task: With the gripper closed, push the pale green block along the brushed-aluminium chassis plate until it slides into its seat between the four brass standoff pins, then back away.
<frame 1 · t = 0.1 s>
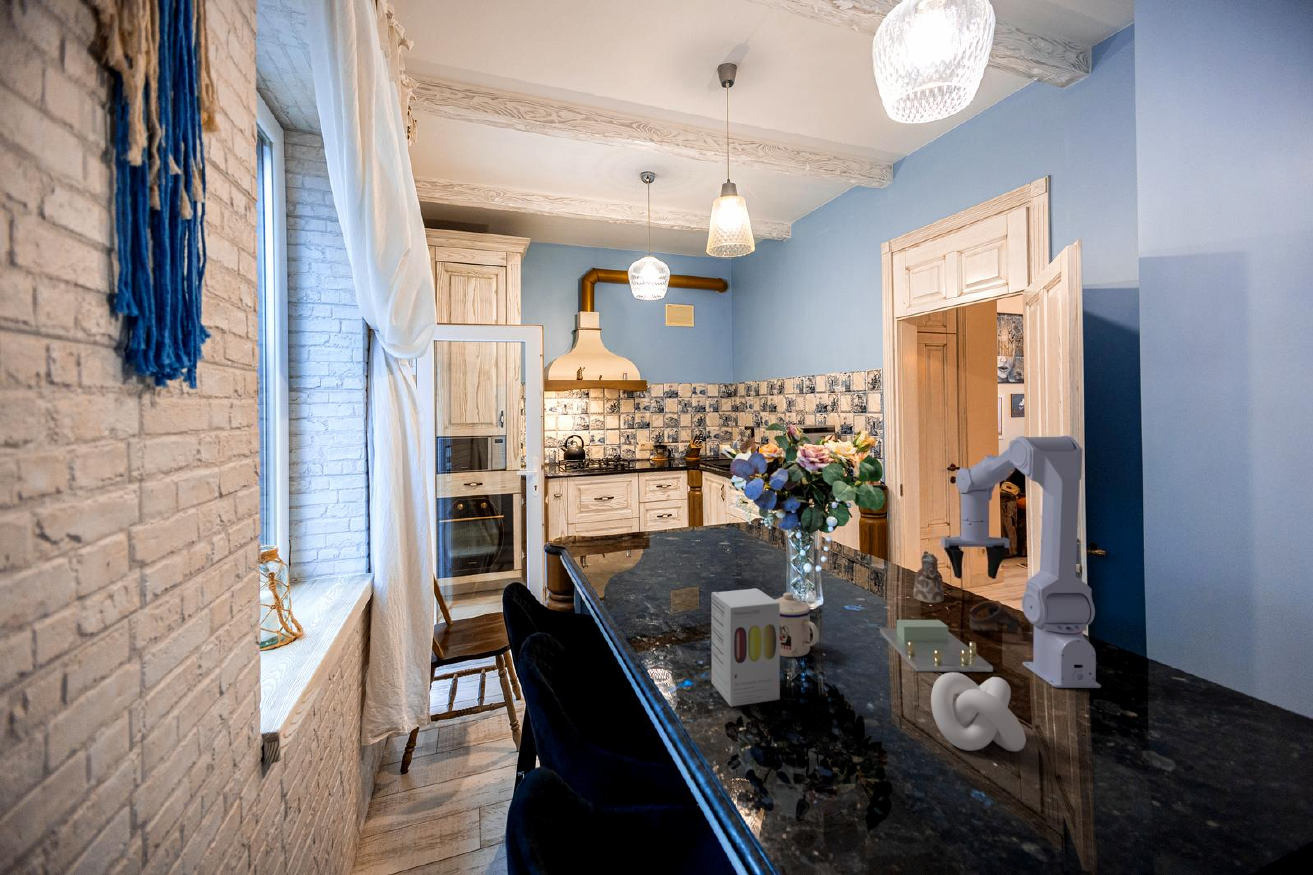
hand: (974, 577, 130), 10 cm above the kitchen island, fingers open, 7 cm apart
chassis: (931, 650, 113), on the kitchen island
supplement box: (744, 692, 98), on the kitchen island
white decorative knot: (979, 740, 82), on the kitchen island
figurine: (928, 599, 146), on the kitchen island
pale green block: (922, 637, 118), point 1 cm above the kitchen island, touching chassis
pottery mug: (996, 634, 122), on the kitchen island
teacup with lid: (793, 652, 114), on the kitchen island
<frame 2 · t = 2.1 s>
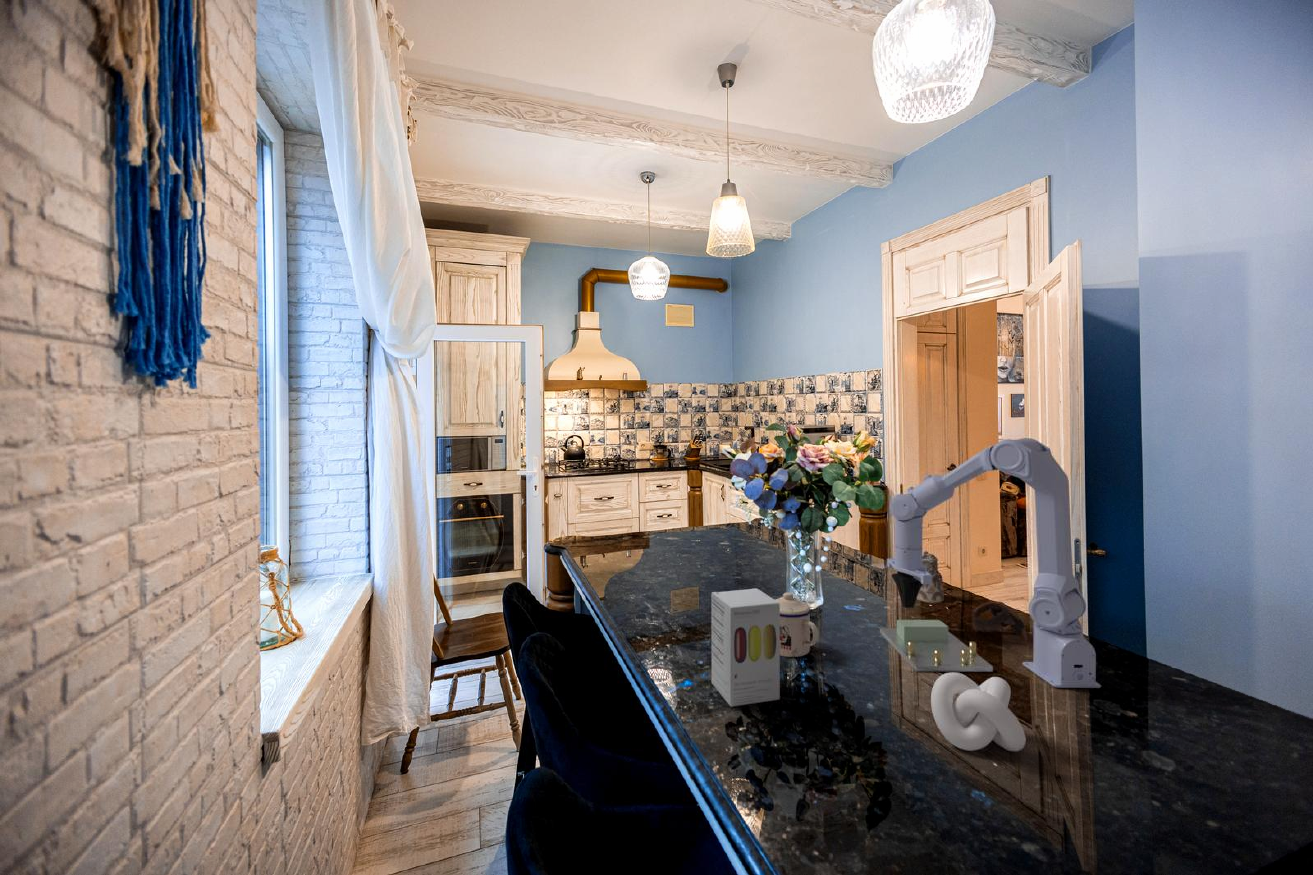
hand: (908, 606, 125), 5 cm above the kitchen island, fingers closed
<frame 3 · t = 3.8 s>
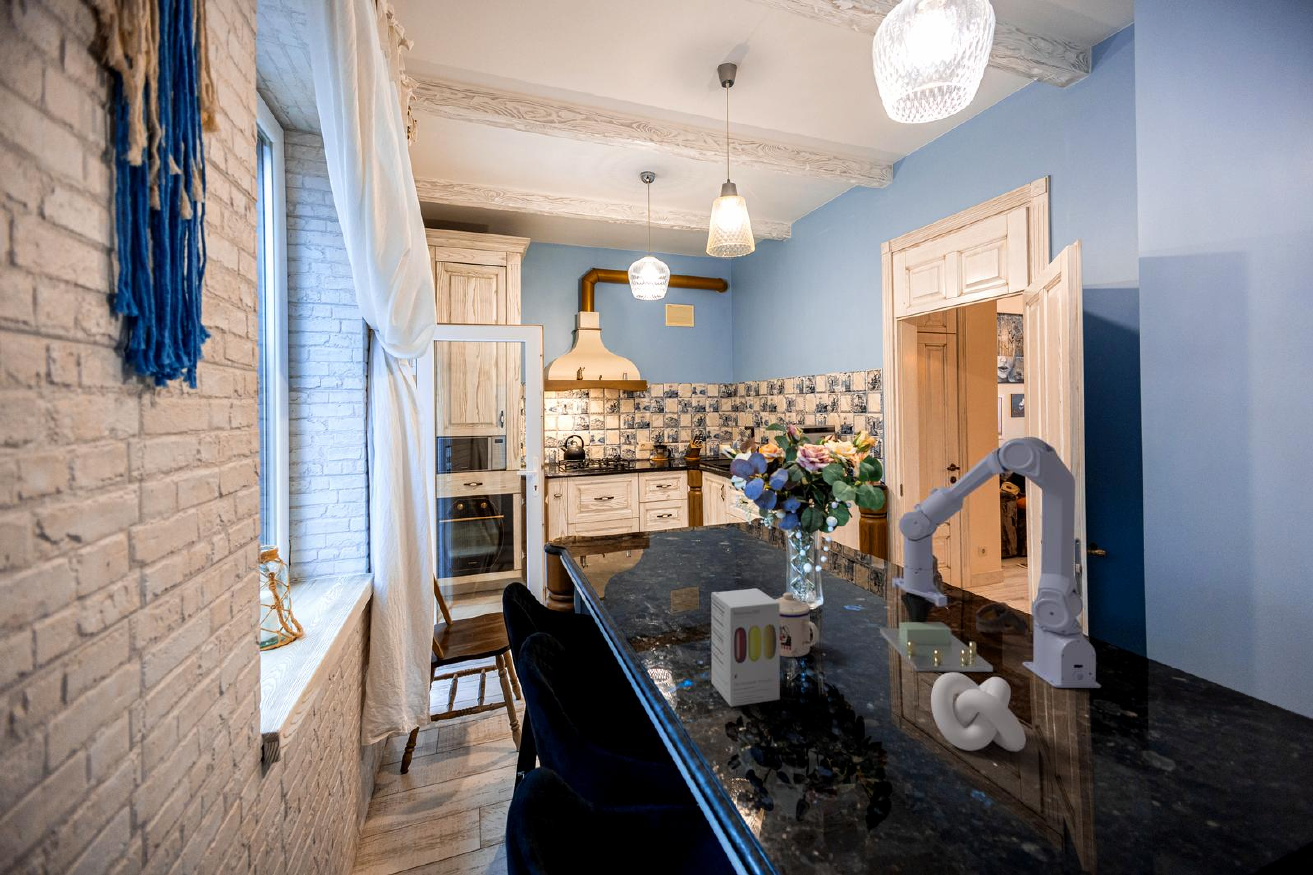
hand: (918, 629, 120), 2 cm above the kitchen island, fingers closed
pale green block: (924, 639, 116), point 1 cm above the kitchen island, touching chassis, gripper
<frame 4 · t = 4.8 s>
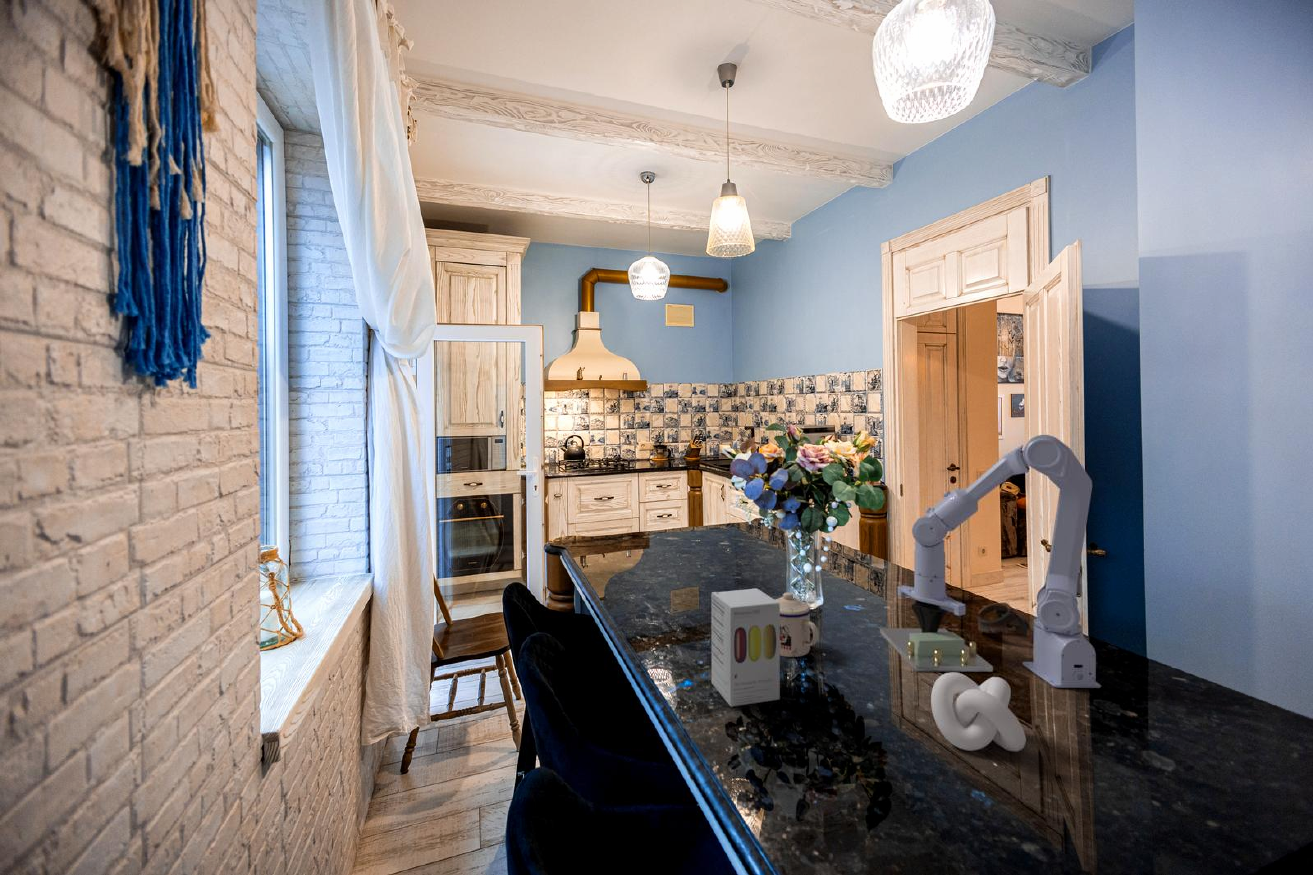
hand: (929, 639, 114), 2 cm above the kitchen island, fingers closed
pale green block: (936, 651, 111), point 1 cm above the kitchen island, touching gripper
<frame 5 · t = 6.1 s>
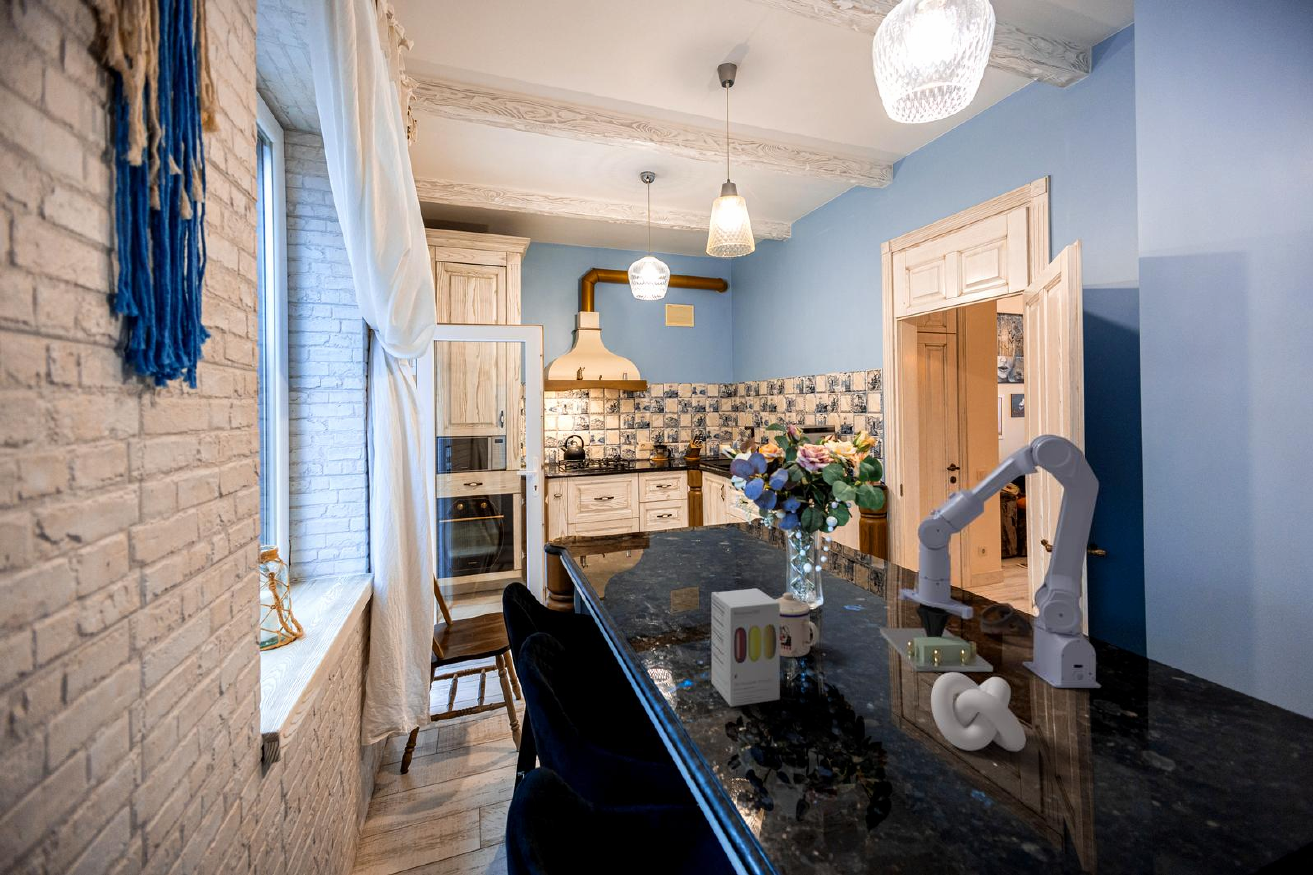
hand: (934, 643, 112), 2 cm above the kitchen island, fingers closed
pale green block: (941, 656, 108), point 1 cm above the kitchen island, touching chassis, gripper
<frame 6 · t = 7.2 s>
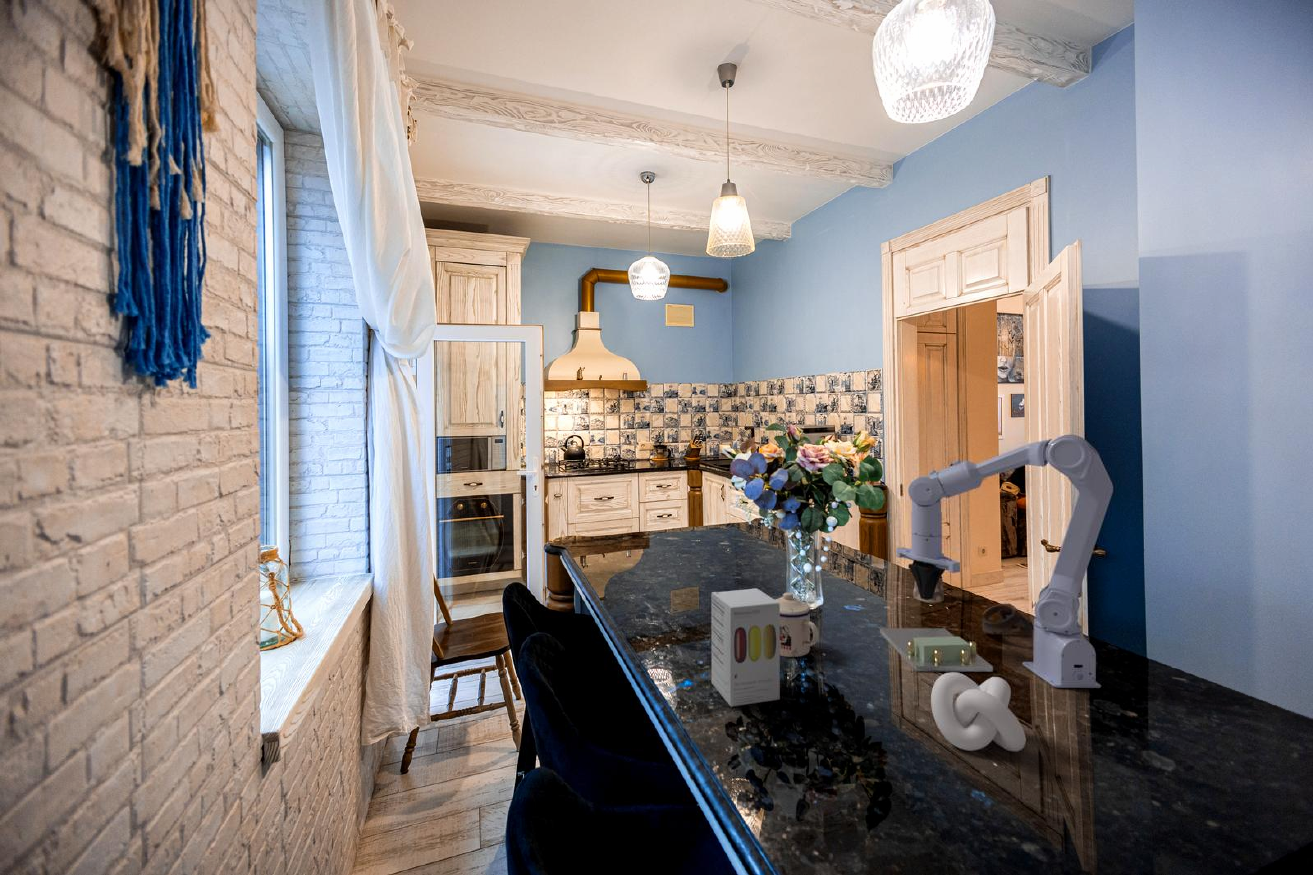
hand: (926, 598, 116), 10 cm above the kitchen island, fingers closed
pale green block: (941, 656, 108), point 1 cm above the kitchen island, touching chassis
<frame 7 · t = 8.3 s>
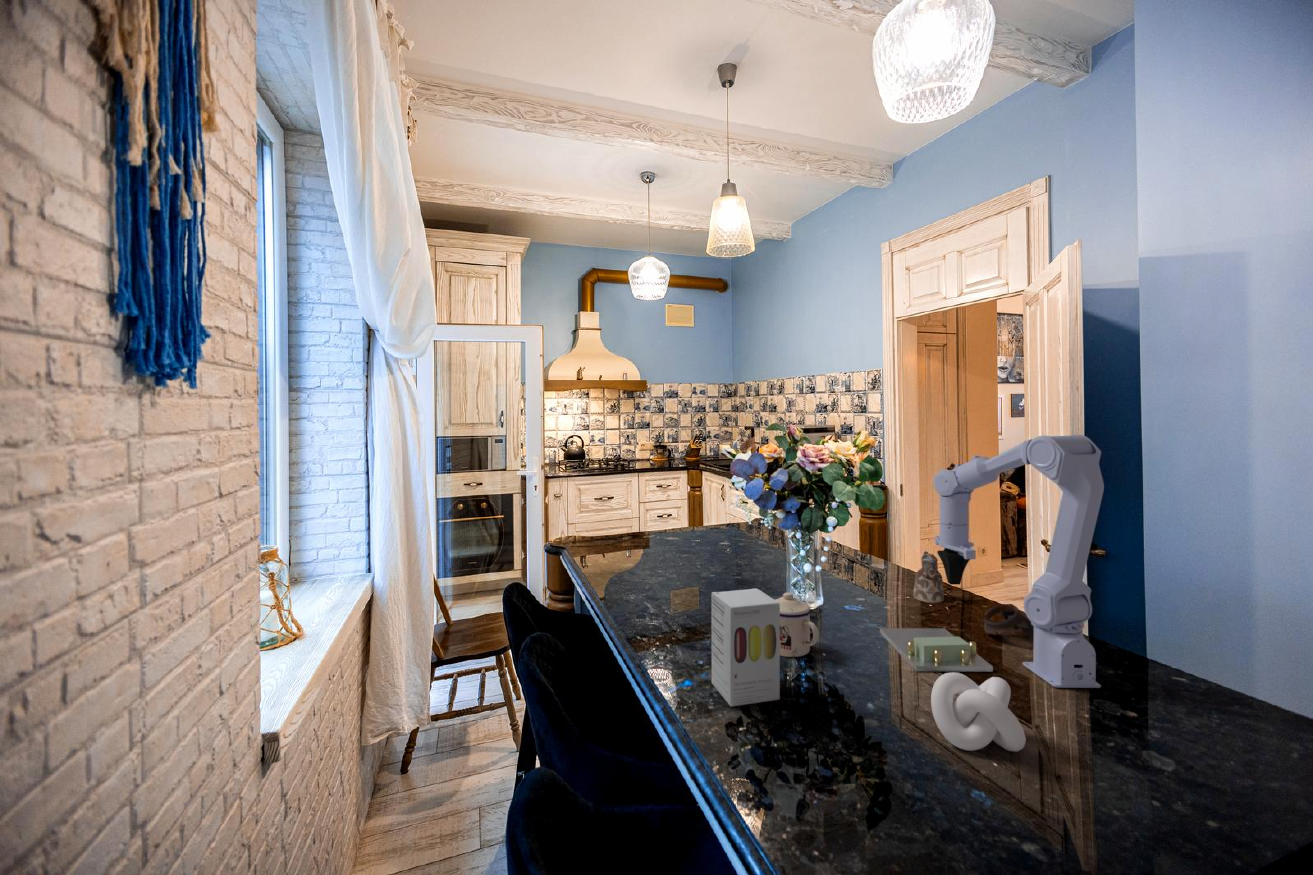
hand: (953, 583, 124), 10 cm above the kitchen island, fingers closed
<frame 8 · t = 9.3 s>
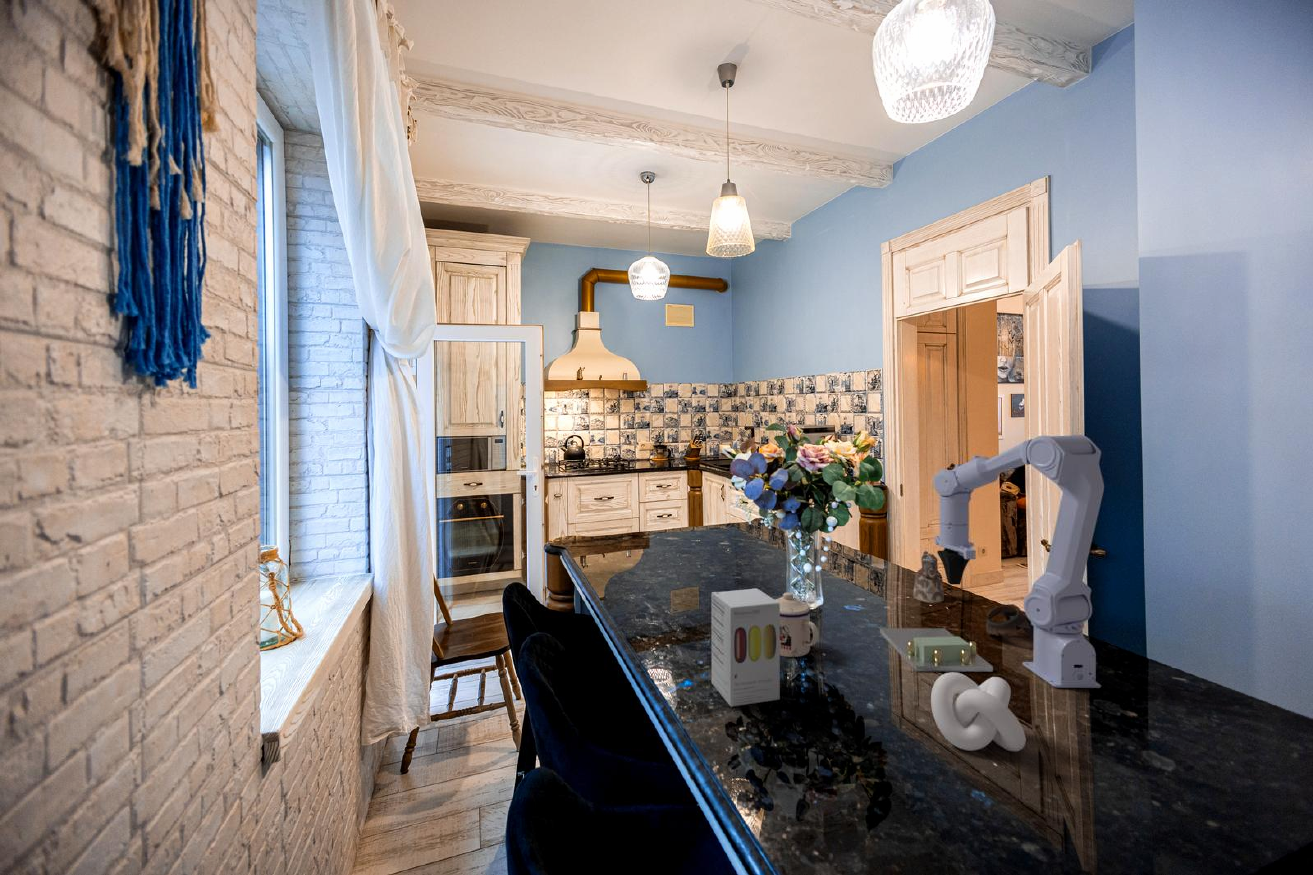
hand: (953, 583, 124), 10 cm above the kitchen island, fingers closed
at the end: pale green block 0.6 cm from the target spot on the chassis, point 1.0 cm above the chassis's base; pale green block tilted 0°; pale green block moved 9.5 cm from its start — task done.
